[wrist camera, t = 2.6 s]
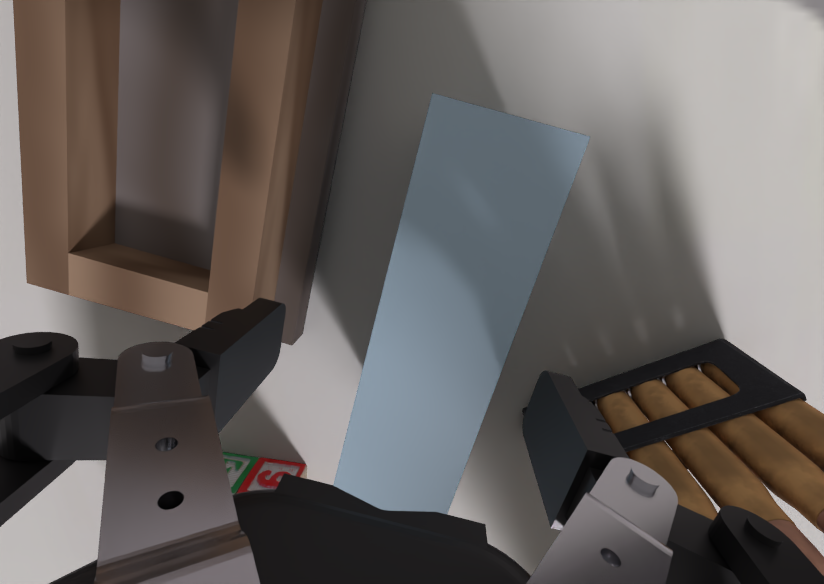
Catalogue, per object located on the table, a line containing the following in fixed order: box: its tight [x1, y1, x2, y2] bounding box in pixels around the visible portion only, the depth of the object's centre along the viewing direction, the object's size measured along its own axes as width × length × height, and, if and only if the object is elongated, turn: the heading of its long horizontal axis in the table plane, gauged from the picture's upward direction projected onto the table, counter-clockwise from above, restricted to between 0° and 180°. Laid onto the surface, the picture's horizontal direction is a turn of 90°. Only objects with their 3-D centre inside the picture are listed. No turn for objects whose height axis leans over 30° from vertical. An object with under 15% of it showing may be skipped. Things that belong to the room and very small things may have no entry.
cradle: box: [13, 0, 366, 345], centre depth 17 cm, size 13×22×4 cm, turn 165°
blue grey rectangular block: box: [333, 93, 590, 514], centre depth 16 cm, size 4×14×9 cm, turn 165°
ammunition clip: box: [522, 339, 824, 576], centre depth 15 cm, size 11×2×12 cm, turn 116°
